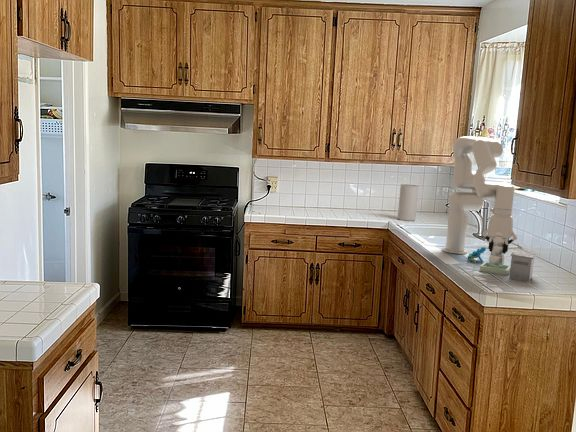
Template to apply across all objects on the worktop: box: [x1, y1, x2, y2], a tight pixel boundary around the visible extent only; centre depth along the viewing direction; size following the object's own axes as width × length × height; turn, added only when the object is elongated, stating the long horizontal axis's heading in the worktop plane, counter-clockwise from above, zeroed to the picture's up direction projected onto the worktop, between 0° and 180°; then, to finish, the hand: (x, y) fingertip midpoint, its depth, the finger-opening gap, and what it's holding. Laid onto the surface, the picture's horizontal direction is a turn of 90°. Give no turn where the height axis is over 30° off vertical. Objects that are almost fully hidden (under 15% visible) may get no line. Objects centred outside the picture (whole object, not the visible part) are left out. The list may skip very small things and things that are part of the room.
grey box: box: [508, 250, 537, 283], centre depth 242 cm, size 11×9×11 cm
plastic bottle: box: [488, 232, 505, 266], centre depth 251 cm, size 6×7×20 cm
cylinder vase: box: [397, 183, 420, 222], centre depth 399 cm, size 12×12×25 cm
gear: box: [467, 246, 487, 263], centre depth 271 cm, size 11×6×10 cm
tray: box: [479, 261, 511, 276], centre depth 253 cm, size 12×12×2 cm
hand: (497, 251), depth 252 cm, fingers closed on plastic bottle, 5 cm apart
